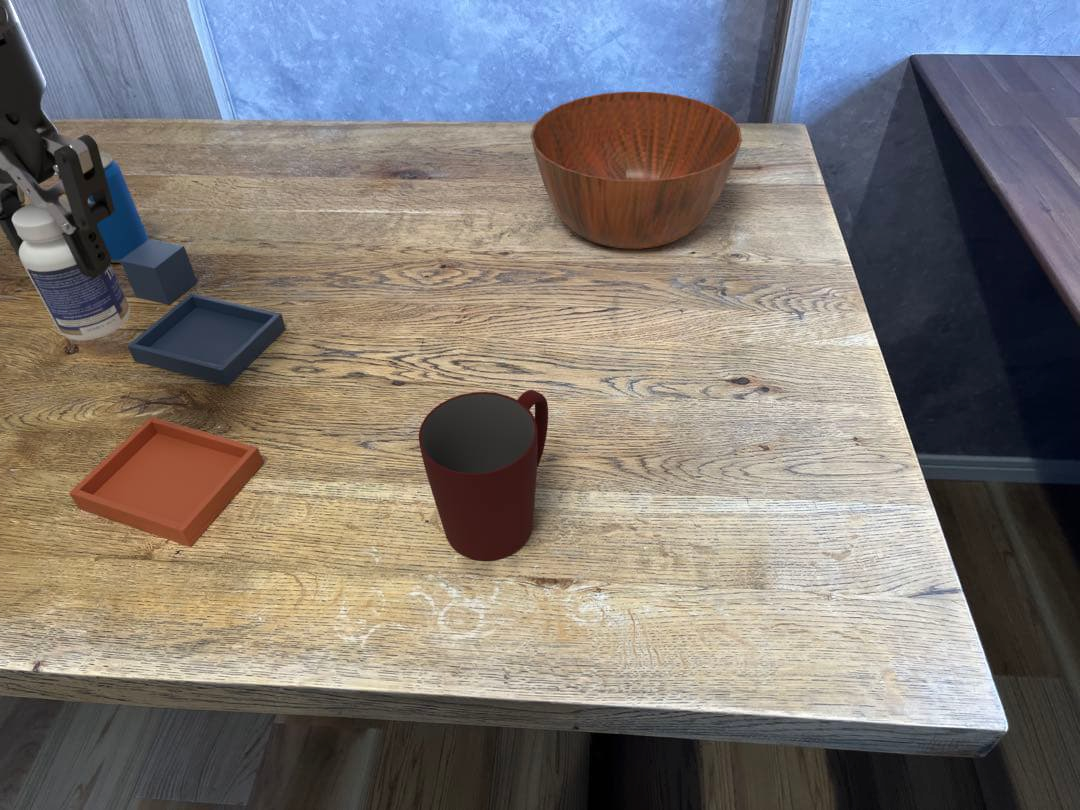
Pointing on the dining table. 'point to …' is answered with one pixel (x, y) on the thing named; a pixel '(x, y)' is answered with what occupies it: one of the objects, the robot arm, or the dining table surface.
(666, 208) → the bowl
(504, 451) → the mug
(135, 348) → the blue tray
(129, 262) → the blue block
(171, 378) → the dining table surface
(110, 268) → the pill bottle
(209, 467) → the terracotta tray
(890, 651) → the dining table surface
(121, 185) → the beverage can
